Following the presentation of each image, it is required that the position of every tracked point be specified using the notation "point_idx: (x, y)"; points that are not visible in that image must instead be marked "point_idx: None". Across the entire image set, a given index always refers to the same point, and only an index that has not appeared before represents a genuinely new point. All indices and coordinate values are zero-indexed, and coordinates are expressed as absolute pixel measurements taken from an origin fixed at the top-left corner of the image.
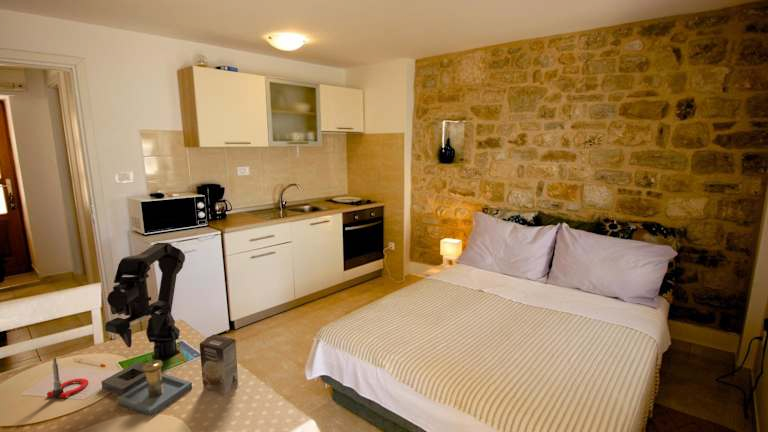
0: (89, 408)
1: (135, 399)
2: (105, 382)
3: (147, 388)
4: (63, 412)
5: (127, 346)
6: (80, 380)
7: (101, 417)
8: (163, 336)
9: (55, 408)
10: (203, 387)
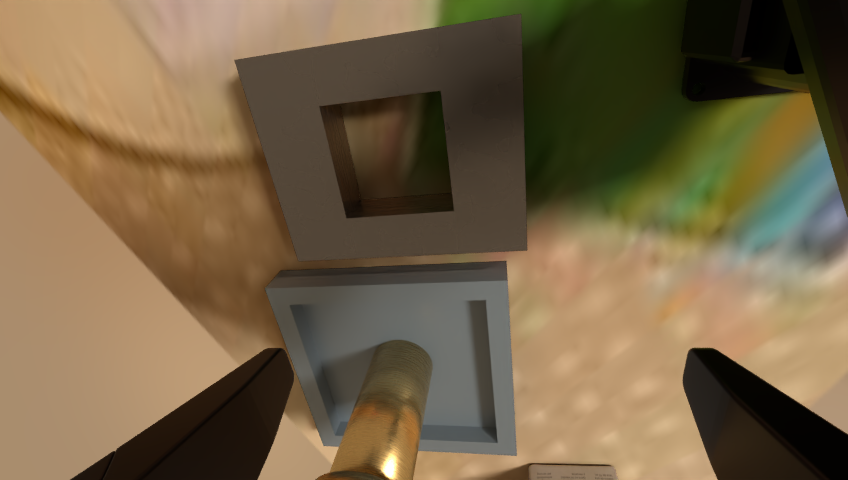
0: (183, 187)
1: (330, 325)
2: (251, 100)
3: (363, 382)
4: (84, 106)
5: (263, 355)
6: None
7: (211, 289)
8: (843, 190)
9: (46, 23)
10: (529, 476)
